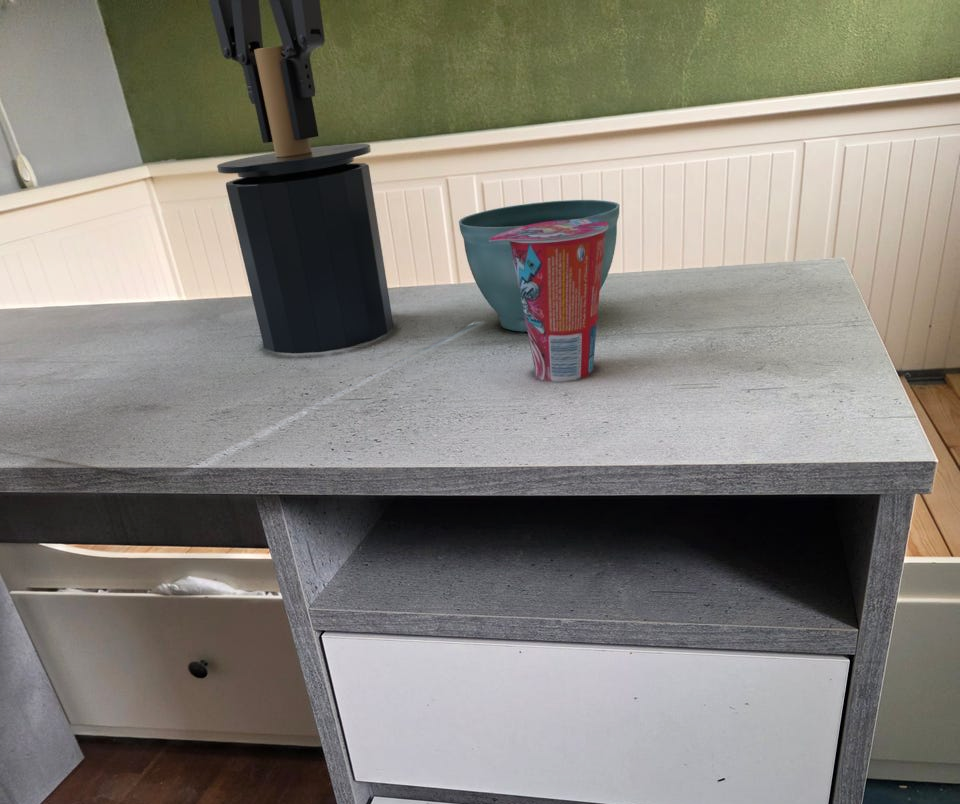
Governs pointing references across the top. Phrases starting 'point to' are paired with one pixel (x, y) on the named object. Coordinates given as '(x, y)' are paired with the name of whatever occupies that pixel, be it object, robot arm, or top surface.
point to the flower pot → (495, 257)
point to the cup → (559, 292)
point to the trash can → (313, 258)
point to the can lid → (286, 132)
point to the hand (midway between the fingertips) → (290, 139)
